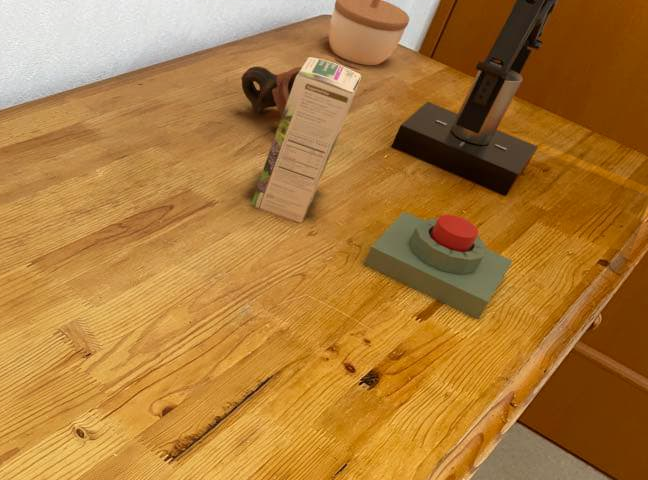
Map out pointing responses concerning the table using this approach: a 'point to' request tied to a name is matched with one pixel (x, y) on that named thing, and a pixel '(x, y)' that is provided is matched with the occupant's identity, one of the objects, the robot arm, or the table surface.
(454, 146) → the panel
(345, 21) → the trinket box
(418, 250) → the red push button box
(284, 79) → the pottery mug
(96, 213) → the table surface
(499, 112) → the knob
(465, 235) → the button
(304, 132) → the syrup box
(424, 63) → the table surface
